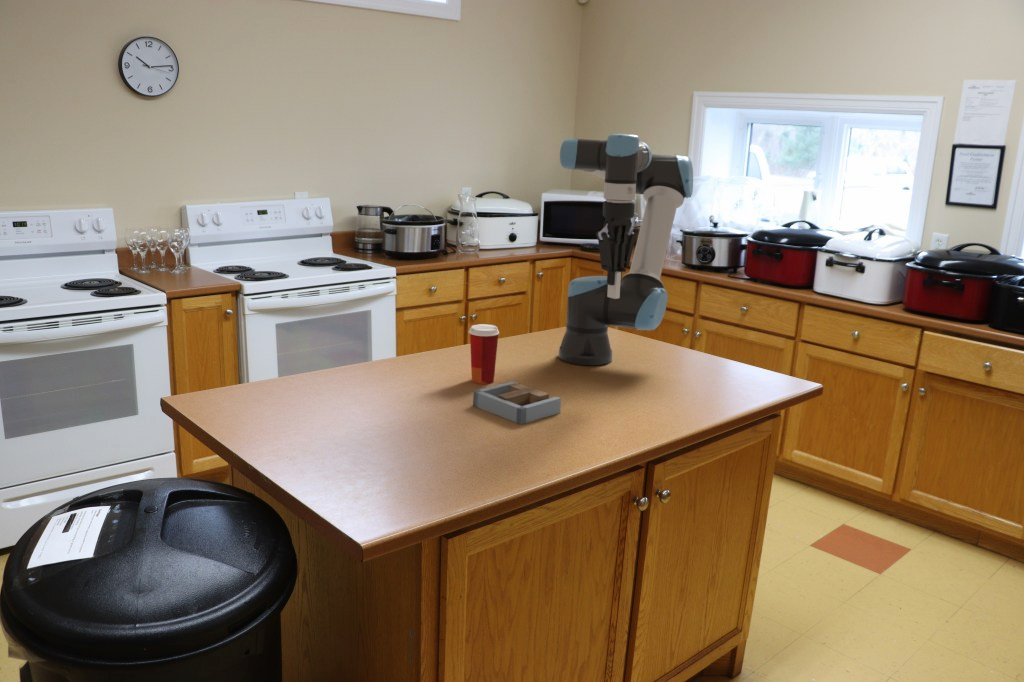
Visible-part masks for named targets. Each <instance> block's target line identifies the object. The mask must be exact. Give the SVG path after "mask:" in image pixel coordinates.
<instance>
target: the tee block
mask: <svg viewBox="0 0 1024 682" xmlns="http://www.w3.org/2000/svg"><path fill="white" fill-rule="evenodd" d="M498 398H501V399H504V400H506V401H509V402H512V403H514V404H517V405H520V406H525V405H528V404H532V403H535V402H539V401H542V400H546V399H549V398H550V393H548V392H544V391H541V390H539V389H536V388H534V387H530V386H529V385H528V386H527V385H524V384H522V383H519V382H518V383H517V384H514V385H510V391H509V392H508V393H504V394H501V395H498Z"/></svg>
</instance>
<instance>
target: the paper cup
mask: <svg viewBox="0 0 1024 682" xmlns="http://www.w3.org/2000/svg"><path fill="white" fill-rule="evenodd" d="M467 332H468V334H469V340H470V343H469V344H470V368H471V370H470V371H471V382H473V383H475V384H479V385H480V384H481V385H487V384H492V383H494V381H495V371H496V364H497V351H498V342H499V341H498V340H499V335H500V331H499V327H498V326H496V325H495V324H486V323H481V324H479V323H478V324H473V325H471V327H470V328H469V330H468V331H467Z"/></svg>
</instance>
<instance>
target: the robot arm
mask: <svg viewBox="0 0 1024 682" xmlns="http://www.w3.org/2000/svg"><path fill="white" fill-rule="evenodd" d="M606 139H607V140H606ZM606 139H602V140H601V139H589V138H588V139H584V138H566V139H564V140H563V141H562V142H561V145H560V150H559V160H560V165H561V167H562V168H563V169H568V170H572V171H574V170H577V171H578V170H579V171H583V172H585V173H589V174H591V175H593V176H596V177H599V178H600V179H603V180H604V183H603V199H604V200H605V201H604V202H603V203H602V216H603V217H604V219H605V220H604V223H603V228H602V229H601V230H600V231H599V230H598V231H596V232H595V236H596V239H597V241H598V248H599V249H598V251H599V258H600V266H601V269H602V270H604V271H606V272H607V276H606V275H591V276H590V275H589V276H582V277H577V278H574V279H572V280H571V281H570V282H569V284H568V289H567V290H568V293H567V296H566V297H567V301H566V302H567V303H566V304H567V305H566V323H565V324H566V326H565V327H566V328H565V332H564V335H563V337H562V340H561V343H560V346H559V347H558V359H559V360H561V361H563V362H565V363H568V364H573V365H579V366H602V365H606V364H610V363H611V362H612V360H613V350H612V349H611V342H610V337H609V334H608V333H609V332H608V331H609V330H608V329H609V326H611V327H619V328H625V329H633V330H638V331H653V330H656V328H658V327H659V325H660V324H661V322H662V321H663V319H664V316H665V313H666V310H667V304H668V298H669V297H668V296H669V295H668V291H667V290H666V289H665V288H664V283H663V282H662V280H661V276H662V272H663V267H664V263H665V259H666V255H667V251H668V246H669V243H670V238H671V234H672V229H673V225H674V221H675V218H676V217H675V215H676V212H677V209H678V208H680V207H681V206H683V204H684V202H685V199H688V198H691V197H692V195H693V189H694V170H693V169H694V167H693V161H692V160H691V158H690V157H688V156H687V155H686V156H684V155H678V154H674V155H669V154H655V153H654V154H653V153H652V150H651V148H650V146H649V145H648V144H647V143H645V142H643V141H640V138H639V136H638V135H636V134H629V133H627V134H626V133H612V134H609V135H608V137H607V138H606ZM636 195H642V196H643V199H644V201H645V202H646V204H645V207H644V212H643V217H642V220H641V224H640V228H639V229H638V228H635V227H633V226H632V225H633V222H632V219H633V218H634V217H635V210H636V203H635V202H633V201H634V200H636ZM636 238H637V239H636ZM635 239H636V243H635ZM634 244H635V248H634ZM633 249H634V252H633ZM632 253H633V257H632ZM631 258H632V261H631ZM630 262H631V264H630ZM629 266H630V269H629V271H628V272H627V273H625V272H626V271H627V268H629ZM623 273H625V274H624V275H623Z"/></svg>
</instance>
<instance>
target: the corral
mask: <svg viewBox="0 0 1024 682" xmlns="http://www.w3.org/2000/svg"><path fill="white" fill-rule="evenodd" d="M514 384H518V383H517V382H516V381H508V382H505V383H501V384H497V385H493V386H489V387H484V388H482V389H477V390H473V393H472V395H473V398H472V405H473V407H476V408H479V409H481V410H483V411H486V412H488V413H491V414H494V415H496V416H498V417H501V418H503V419H506V420H509V421H511V422H513V423H517V424H519V425H524V424H527V423H531V422H534V421H538V420H540V419H544V418H547V417H551V416H554V415H557V414H561V408H562V407H561V406H562V405H561V403H562V398H561V397H558V396H553V397H549V399H546V400H542V401H539V402H535V403H532V404H528V405H525V406H520V405H517V404H514V403H512V402H509V401H506V400H504V399H501V398H498V395H501V394H504V393H508V392H509V391H510V385H514Z"/></svg>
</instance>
